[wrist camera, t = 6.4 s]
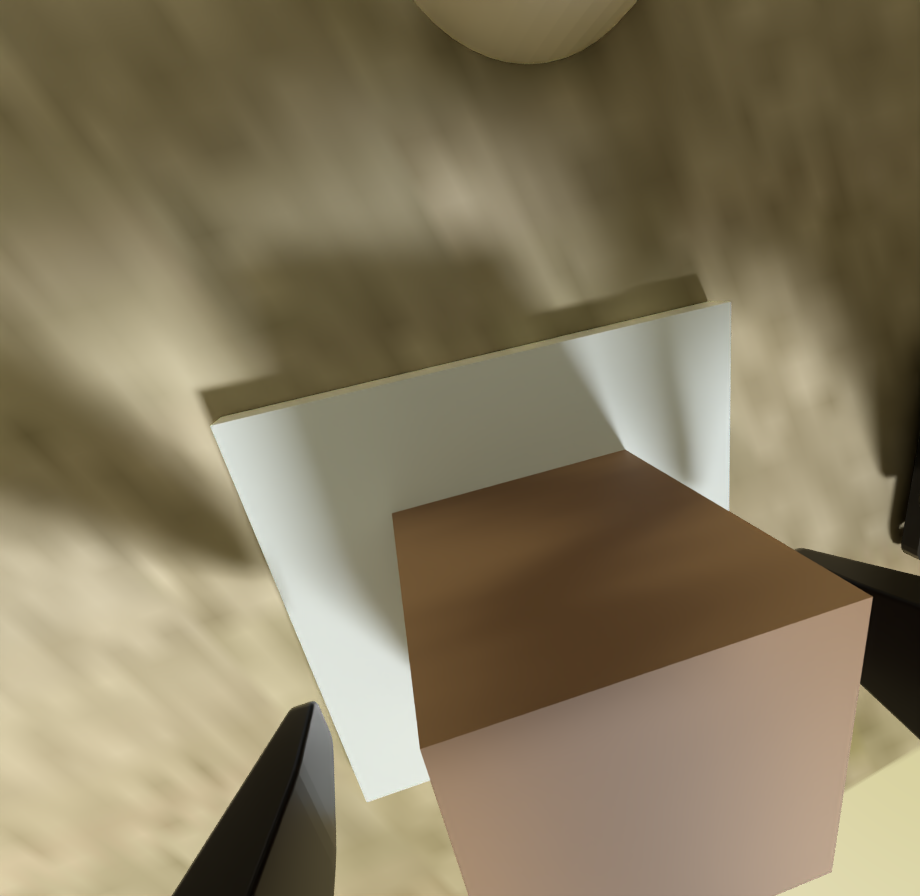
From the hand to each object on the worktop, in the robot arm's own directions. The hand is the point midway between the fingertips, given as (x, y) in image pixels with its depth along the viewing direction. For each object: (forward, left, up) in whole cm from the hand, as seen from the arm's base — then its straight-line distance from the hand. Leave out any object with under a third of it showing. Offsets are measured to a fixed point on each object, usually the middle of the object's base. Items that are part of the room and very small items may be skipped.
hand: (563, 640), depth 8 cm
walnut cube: (0, 0, -2) cm, 2 cm away
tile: (0, 0, -2) cm, 2 cm away
